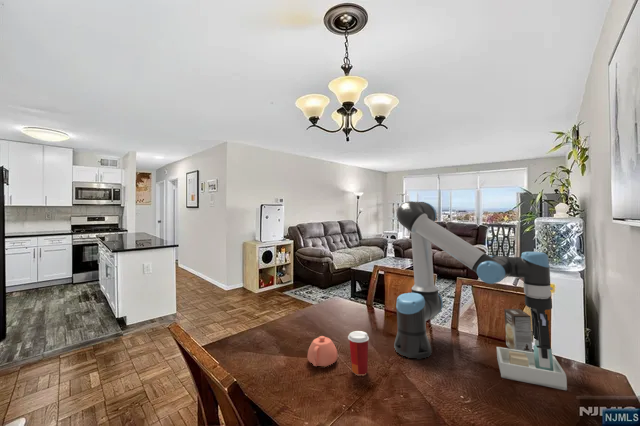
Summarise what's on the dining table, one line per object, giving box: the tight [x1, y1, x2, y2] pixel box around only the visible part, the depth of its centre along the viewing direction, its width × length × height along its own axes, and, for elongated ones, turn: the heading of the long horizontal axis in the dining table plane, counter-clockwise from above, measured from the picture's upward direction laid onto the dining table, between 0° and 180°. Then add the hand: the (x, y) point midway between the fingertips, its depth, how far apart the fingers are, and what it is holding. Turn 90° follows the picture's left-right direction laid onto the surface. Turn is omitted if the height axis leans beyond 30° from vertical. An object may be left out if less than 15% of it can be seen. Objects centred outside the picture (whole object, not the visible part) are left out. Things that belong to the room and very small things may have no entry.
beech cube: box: [509, 351, 529, 367], centre depth 98 cm, size 5×5×5 cm
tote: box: [496, 346, 568, 391], centre depth 97 cm, size 18×14×5 cm
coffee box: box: [503, 308, 533, 352], centre depth 114 cm, size 9×6×16 cm
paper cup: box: [347, 330, 370, 374], centre depth 102 cm, size 8×8×14 cm
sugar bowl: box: [307, 335, 339, 367], centre depth 109 cm, size 12×14×10 cm
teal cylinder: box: [532, 344, 554, 371], centre depth 95 cm, size 5×5×7 cm
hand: (542, 362), depth 95 cm, fingers closed on teal cylinder, 5 cm apart
